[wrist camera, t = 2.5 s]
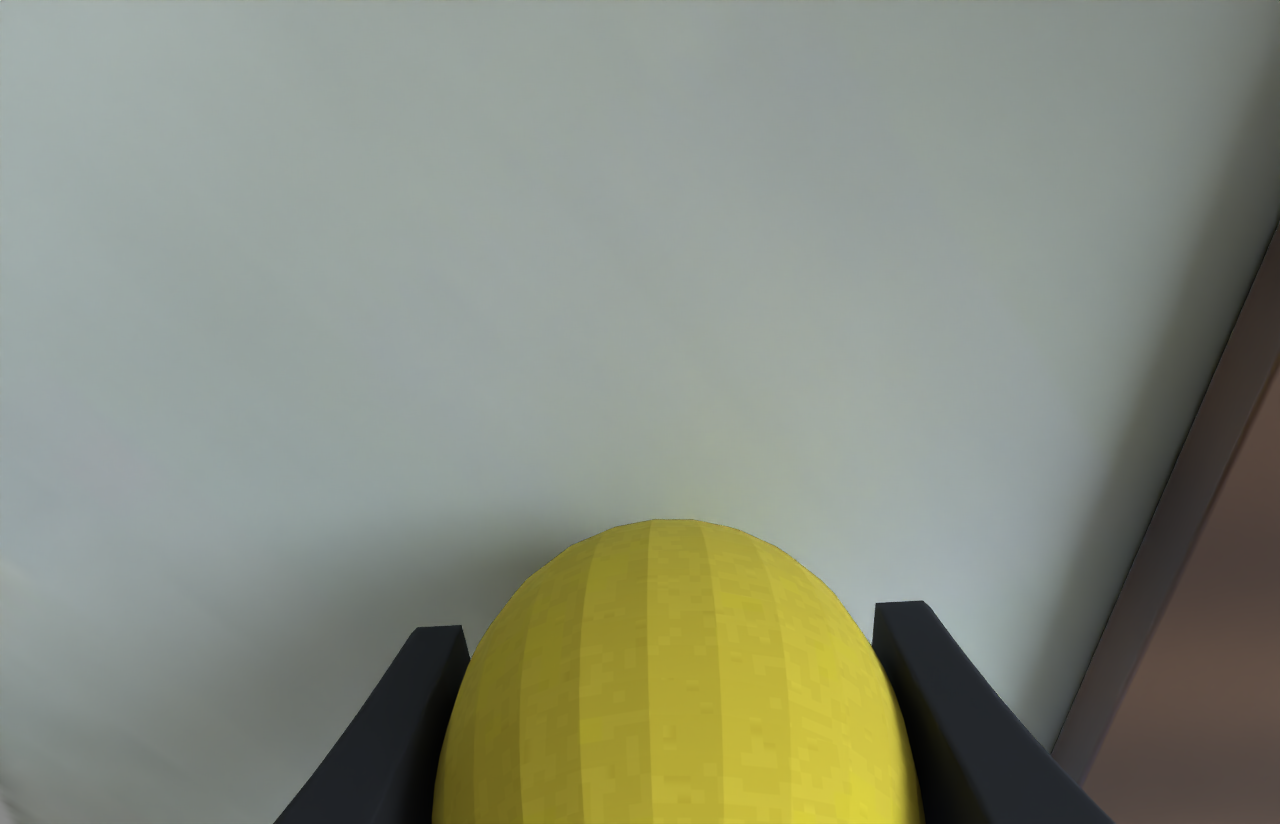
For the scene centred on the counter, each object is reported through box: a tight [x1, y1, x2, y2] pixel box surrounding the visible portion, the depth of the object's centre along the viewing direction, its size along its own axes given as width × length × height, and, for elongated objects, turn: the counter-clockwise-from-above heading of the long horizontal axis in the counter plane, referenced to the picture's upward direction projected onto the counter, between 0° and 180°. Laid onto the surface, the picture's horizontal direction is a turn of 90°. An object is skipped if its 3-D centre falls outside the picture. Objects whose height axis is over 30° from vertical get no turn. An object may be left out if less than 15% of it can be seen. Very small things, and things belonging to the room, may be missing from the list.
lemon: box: [432, 519, 926, 824], centre depth 10 cm, size 6×6×8 cm
